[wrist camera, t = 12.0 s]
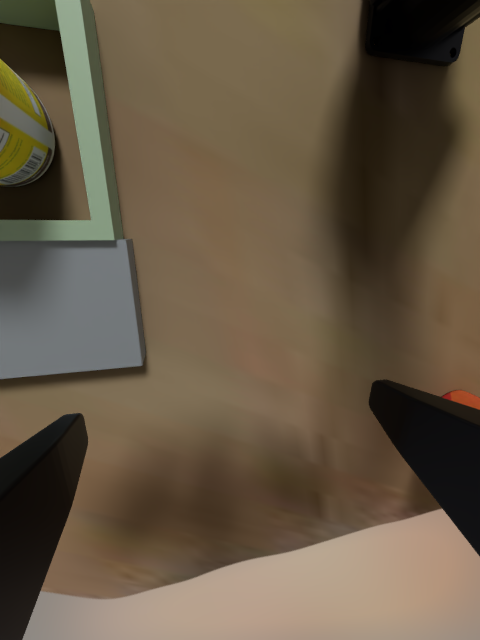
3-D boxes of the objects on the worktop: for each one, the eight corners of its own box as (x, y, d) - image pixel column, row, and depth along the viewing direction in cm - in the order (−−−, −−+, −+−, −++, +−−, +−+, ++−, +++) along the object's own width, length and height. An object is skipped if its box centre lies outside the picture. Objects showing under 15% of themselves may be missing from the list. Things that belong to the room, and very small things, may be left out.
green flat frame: (104, 12, 13) (88, -34, 11) (145, 352, 19) (141, 369, 17) (-206, -35, 11) (-308, -106, 9) (-49, 369, 17) (-86, 391, 15)
